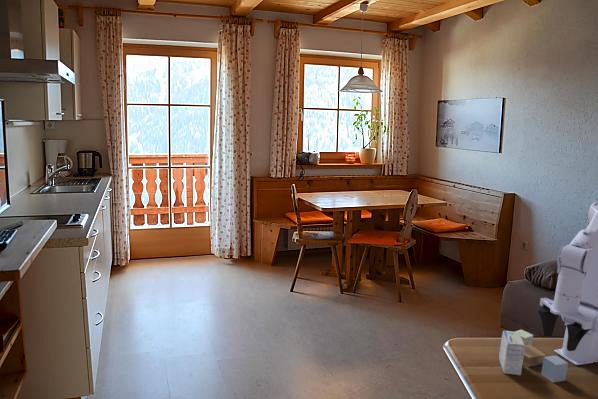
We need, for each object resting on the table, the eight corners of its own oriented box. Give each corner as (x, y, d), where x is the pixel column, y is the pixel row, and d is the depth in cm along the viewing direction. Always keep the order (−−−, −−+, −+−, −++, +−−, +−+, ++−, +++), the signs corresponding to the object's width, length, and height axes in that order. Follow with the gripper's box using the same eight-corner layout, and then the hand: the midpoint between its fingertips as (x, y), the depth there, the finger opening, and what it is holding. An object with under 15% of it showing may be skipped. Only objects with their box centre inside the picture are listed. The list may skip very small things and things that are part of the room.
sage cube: (518, 341, 155) (521, 329, 154) (531, 347, 152) (533, 335, 151) (510, 344, 153) (512, 332, 152) (523, 351, 150) (525, 338, 149)
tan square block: (527, 354, 149) (529, 344, 148) (544, 365, 143) (546, 355, 143) (511, 356, 147) (512, 346, 146) (526, 367, 141) (528, 357, 140)
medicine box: (520, 376, 136) (526, 345, 134) (502, 373, 137) (507, 343, 135) (515, 361, 144) (519, 332, 142) (497, 358, 144) (502, 329, 143)
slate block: (552, 372, 139) (556, 355, 138) (564, 380, 135) (568, 363, 134) (540, 374, 138) (544, 357, 137) (552, 382, 134) (556, 364, 133)
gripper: (534, 283, 137) (526, 331, 140) (579, 306, 123) (569, 358, 126) (555, 281, 139) (546, 328, 142) (602, 303, 126) (592, 355, 129)
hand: (559, 342), depth 134 cm, fingers open, 7 cm apart
